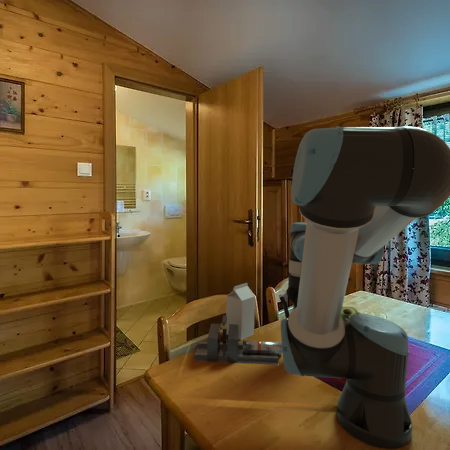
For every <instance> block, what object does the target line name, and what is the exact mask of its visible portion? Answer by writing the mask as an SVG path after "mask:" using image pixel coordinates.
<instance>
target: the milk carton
mask: <svg viewBox="0 0 450 450" xmlns="http://www.w3.org/2000/svg"><path fill="white" fill-rule="evenodd" d="M255 301H256V296H255V294H254V293H253V291H252V289H250V287H249V286H248V282H245V283H242V284H238V285H235V286H233V289H232V291H231V292H230V293H228V294H227V295H226V305H225V307H226V310H225V311H226V312H225V313H226V314H225V315H227V336H228V332H229V324H237V325H239V328H238V341H244V340H246V339H247V338H249V337H251V336H253V335H254V334H255V309H256V308H255V307H256V305H255V303H256V302H255Z"/></svg>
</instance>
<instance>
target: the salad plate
mask: <svg viewBox="0 0 450 450" xmlns="http://www.w3.org/2000/svg"><path fill="white" fill-rule="evenodd" d="M358 313H360V312H359V311H358V310H357V309H356V308H355V307H352V306H342V311H341V315H340V318H341V319H342V321H343V322H349V318H350V316H351V315H353V314H358Z"/></svg>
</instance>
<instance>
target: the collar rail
mask: <svg viewBox="0 0 450 450" xmlns="http://www.w3.org/2000/svg"><path fill="white" fill-rule="evenodd" d="M238 328H239V325H237V324H229V332H228V335H227V315H226V314H224V315H223V316H222V322H221V323H210V327H209V331H208V334H207V335H208V336H207V339H206V341H198V342H197V348H196V351H195V352H194V356H193V357H194V358H193V362H206V363H207V362H208V363H209V362H210V363H230V364H255V365H272V366H273V365H275V366H276V365H277V366H279V364H280V363H279V356H278V354H255V353H243V342H242V343H239V339H238ZM221 330H222V342H221Z"/></svg>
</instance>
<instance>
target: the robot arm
mask: <svg viewBox="0 0 450 450" xmlns="http://www.w3.org/2000/svg"><path fill="white" fill-rule="evenodd" d="M290 185H291V189H290V192H291V193H290V194H291V195H290V197H291V201H292V203H293V204H295V205H297V206H298V210H299V211H298V212H299V214H300V216H301V217H302V218H303V219H304V220H306V222H292V223H291V224H290V227H289V228H290V231H289V259H288V261H289V262H288V273H289V274H288V280H287V281H288V283H287V284H288V285H287V289H286V292H285V293H283V294H279V295H278V296H279V300H280V302H281V304H282V307H283V311H284V316H285V318H282V319H281V320H280V336H281V337H280V338H281V339H280V340H281V341H280V342H282V361H283V367H284V370H285V371H286V372H287V373H288V374H290V375H297V376H301V377H316V378H317V377H318V378H332V379H333V378H334V379H335V378H336V379H346V382H345V384H344V387H343V388H342V392H341V393H340V396H339V398H338V399H337V403H336V418H337V421H338V423H339V424H340V425H341V427H342V428H343V429H344V430H345V431H346V432H347V433H348V434H349V435H351V436H352V437H354V438H355V439H357V440H359V441H361V442H363V443H366V444H368V445H371V446H373V447H378V448H383V449H398V448H401V447H404V446H406V445H407V444H409V443H410V442H411V439H412V437H413V421H412V417H411V415H410V410H409V407H408V404H407V399H406V384H407V373H408V362H409V354H410V351H409V336H408V334H407V332H406V331H405V329H404V328H403V327H401V326H400V325H398V324H397V323H395V322H393V321H391V320H388V319H387V318H383V317H381V316H379V315H378V316H377V315H373V314H370V313H369V314H368V313H361V312H359V313H358V314H353V315H351V316H350V318H349V322H343V321H342V319H341V318H340V315H341V311H342V307H344V302H345V296H346V292H347V287H348V283H349V278H350V272H351V268H352V265H353V264H359V265H371V264H372V265H374V264H379V263H380V262H381V261H382V259H383V257H384V254H385V246H386V244H388V243H389V242H390V241H392V239H394V238H395V237H396V236H397V235H398V234H400V233H401V232H402V231H403V230H404V229H405V228H407V227H408V226H409V225H410V224H411V223H413V221H415V220H416V219H421V218H426V217H428V216H430V215H431V214H433V213H434V212H435V211H436V210H438V209H439V208H440V207H442V206H443V205H444V204H445V202H447V200H448V199H449V198H450V146H449V145H448V144H447V142H446V141H444V140H443V139H442V138H441V137H440V136H438V135H437V134H435V133H434V132H431V131H429V130H428V129H424V128H421V127H416V126H398V127H397V126H394V127H393V126H388V127H387V126H386V127H385V126H381V127H380V126H378V127H377V126H376V127H374V126H373V127H372V126H369V127H368V126H366V127H365V126H360V127H359V126H355V127H354V126H340V125H336V126H333V127H323V128H313V129H310V130H308V131H307V132H306V133H305V134H304V136H303V137H302V139H301V141H300V143H299V145H298V148H297V153H296V156H295V161H294V165H293V171H292V181H291V184H290ZM288 298H289V299H290V301H291V302H292V308H293V309H292V310H291V312H290V311H289V306H288V303H287V302H288Z"/></svg>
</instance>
